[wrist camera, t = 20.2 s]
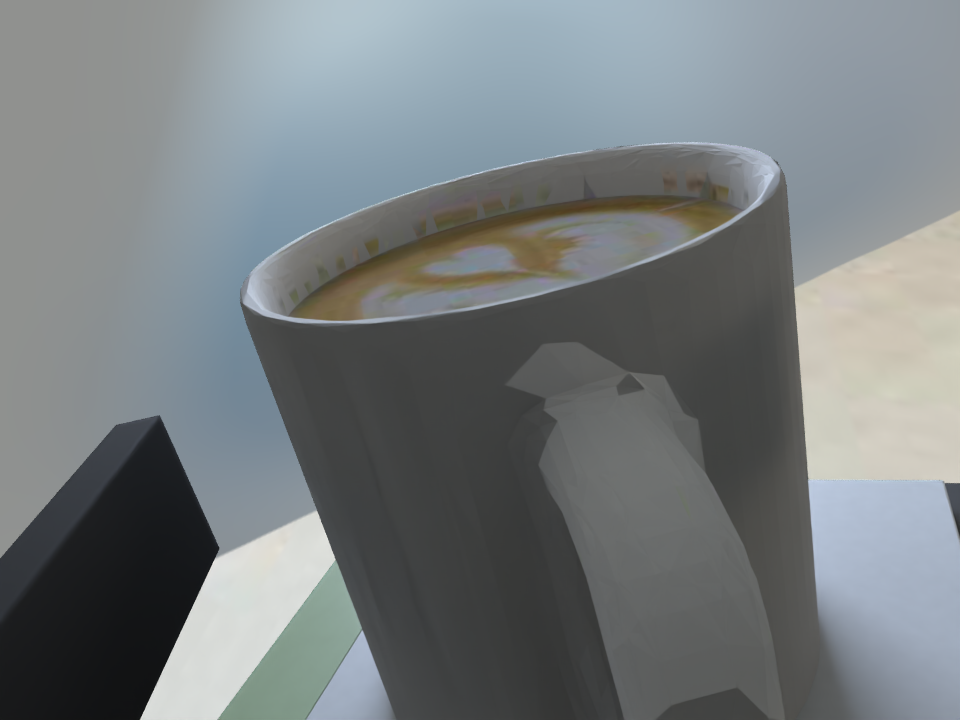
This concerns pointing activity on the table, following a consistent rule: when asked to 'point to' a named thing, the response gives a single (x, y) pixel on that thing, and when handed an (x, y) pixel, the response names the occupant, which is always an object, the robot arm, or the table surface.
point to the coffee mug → (560, 435)
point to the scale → (840, 600)
